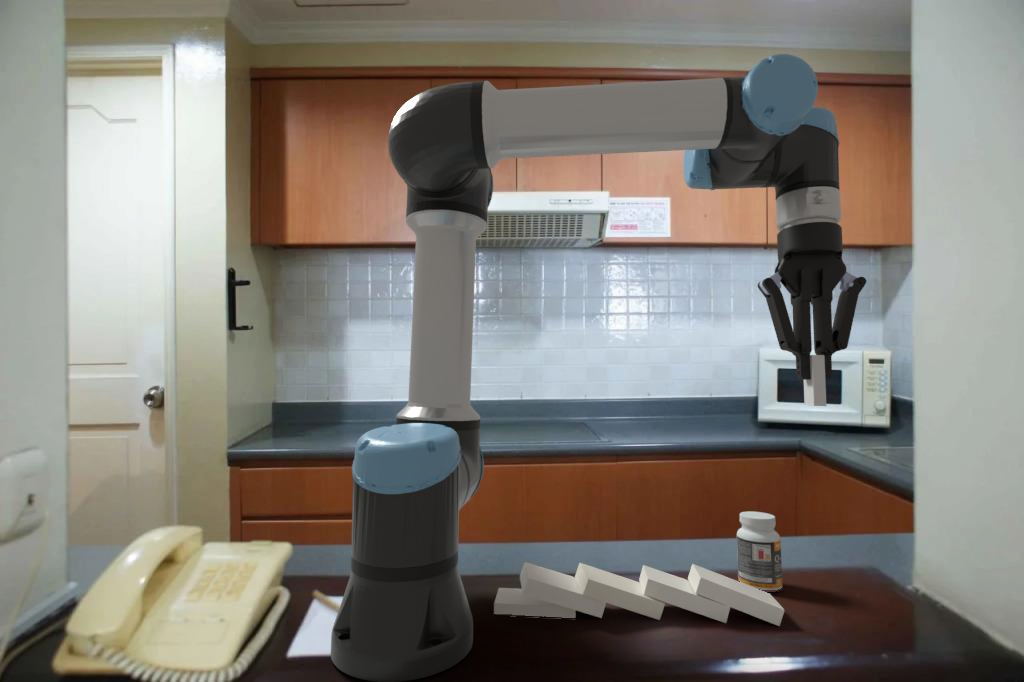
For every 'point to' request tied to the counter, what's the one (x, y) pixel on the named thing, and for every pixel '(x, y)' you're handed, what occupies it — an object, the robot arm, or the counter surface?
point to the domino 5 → (735, 594)
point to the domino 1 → (527, 605)
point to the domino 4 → (680, 594)
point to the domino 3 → (616, 591)
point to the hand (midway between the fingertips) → (815, 405)
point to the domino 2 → (557, 589)
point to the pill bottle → (759, 551)
